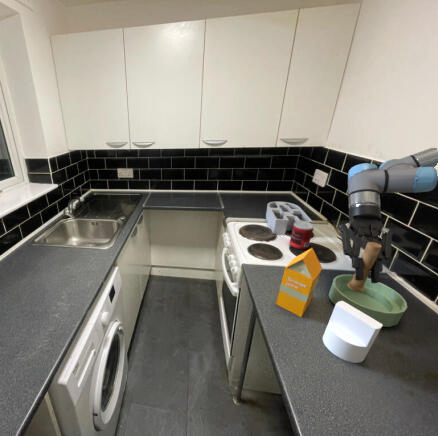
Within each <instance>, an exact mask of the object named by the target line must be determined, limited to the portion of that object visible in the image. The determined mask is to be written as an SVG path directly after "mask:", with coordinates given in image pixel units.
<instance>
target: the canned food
mask: <svg viewBox="0 0 438 436" xmlns="http://www.w3.org/2000/svg"><path fill="white" fill-rule="evenodd" d="M314 229H315V226H314V224H313V223H312V224H310V223H308V222H303V221H298V222H295V223H294V226H293V230H292V231H291V235H290V239H289V246H291V247H292V248H294V249H297V250H307V249H308V248H309V245H310V243H311V239H312V235H313V234H314V233H313V232H314Z"/></svg>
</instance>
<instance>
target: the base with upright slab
mask: <svg viewBox="0 0 438 436" xmlns="http://www.w3.org/2000/svg"><path fill="white" fill-rule="evenodd" d="M382 327H384V326H383V324H381V323H379V322H378V321H376V320H374V319H373V318H371V317H369V316H368V315H366V314H364V313H363V312H361V311H359V310H357V309H356V308H354V307H352V306H351V305H349V304H347V303H346V302H344V301H339V302H337V303H336V305H335V304H334V308H333V310H332V313H331V315H330V317H329V321H328V323H327V326H326V328H325V330H324V333H323V335H322V342H323V345H324V347H326V348H327V350H328V351H330V353H331V354H333V355H334V356H336V357H337V358H339V359H341V360H343V361H345V362H348V363H354V364H359V363H362V362H364V361H365V359H366V357H367V356H368V354H369V351H370V350H371V348H372V346H373V344H374V342H375V341H376V339H377V336H378V335H379V333H380V331H381V330H382Z"/></svg>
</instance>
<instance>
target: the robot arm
mask: <svg viewBox="0 0 438 436" xmlns="http://www.w3.org/2000/svg"><path fill="white" fill-rule="evenodd" d="M437 163H438V150H437V148H432V147H430V148H427V149H424V150H421V151H418V152H416V153H413V154H410V155H407V156H404V157H402V158H393V159H389V160H386V161H384V162H383V163H381V164H380V166H379V167H378V166H377V165H376V164H375V163H369V162H365V163H359V164H356V165H354V166H352V167H350V169H349V170H348V173H347V174H348V175H347V190H348V191H347V194H348V196H347V197H348V221H347V223H341V224H339V226H337V228H338V230H339V232H340V236H341V243H342V251H343V252H342V253H343V255H344V256H348V257H349V259H351V268H352V269H355V270H354V271H355V272H354V274H355V275H356V280H358V281H360V280H364V276H363V258H361V257H362V256H361V257H360V254H361V249H362V243H363V237H366V240H367V241H368V242H374V243H378V244H380V245H381V246H382V247H381V249H380V251H379V253H378V256H377V258H376V260H375V262H374V265H373V267H372V269H371V271H370V279H371V283H381V276H380V275H381V274H380V273H382V272H383V270H384V266H383V262H386V261H390V260H391V259H392V240H393V237H392V236H393V235H394V233H395V230H396V229H394V228H387V227H385V226H384V225H383V223H382V209H381V198H380V197H381V196H380V194H397V193H399V194H402V193H414V194H416V193H425V192H427V193H428V192H430V191H433V190H434V189H435V188H436V186H437V183H438V170H436V169H435V168H434V167H435V166H436V165H437ZM350 230H351V231H352V232H353V236H352V238H353V239H352V240H353V241H351V235H350ZM380 232H381V241H379V233H380ZM380 242H381V243H380Z"/></svg>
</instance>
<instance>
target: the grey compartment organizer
mask: <svg viewBox="0 0 438 436" xmlns="http://www.w3.org/2000/svg"><path fill="white" fill-rule="evenodd" d="M265 220H266V222H267V224H268V226H269V228H270V230H271V232H272V234H273V235H278V236H284V235H285V234H286V233H287V231H290V232H292V230H293V226H294V223H295V222H298V221H303V222H308V223H310V224H312V225H313V223H314V221H313V220H312V219H311V218H310V217H309V216H308V215H307V213H306V212H305V211H304V210H303V209H302V208H301V206H299V205H298V204H295V203H291V202H287V201H271V202H268V203H267V206H266V212H265Z"/></svg>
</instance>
